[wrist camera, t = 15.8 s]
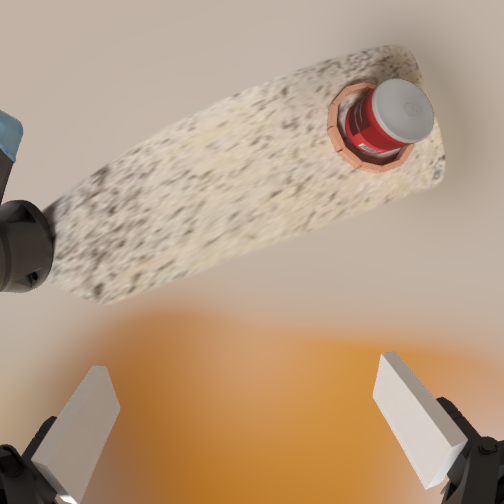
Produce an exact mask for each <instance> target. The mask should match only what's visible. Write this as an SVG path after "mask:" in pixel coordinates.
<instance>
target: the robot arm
mask: <svg viewBox="0 0 504 504" xmlns="http://www.w3.org/2000/svg"><path fill="white" fill-rule="evenodd" d="M22 136H23V127H22V124H21V122H20V121H19V120H18V119H16V118H14V117H12V116H10V115H8V114H7V113H5V112H3V111H1V110H0V292H18V293H24V292H28V291H30V290H33V289H35V288H37V287H38V286H40V285H41V284H42V283H43V282H44V281H45V279H46V278H47V276H48V274H49V271H50V268H51V264H52V257H53V245H52V238H51V233H50V229H49V226H48V224H47V221H46V219H45V217H44V216H43V214H42V213H41V211H40V210H39V209H38V208H37V207H36V206H35V205H34V204H32V203H31V202H28V201H24V200H15V201H9V202H6V203H4V204H3V205H1V202H2V198H3V195H4V191H5V187H6V184H7V181H8V178H9V175H10V172H11V169H12V166H13V163H15V161H16V157H15V156H16V153H17V150H18V147H19V144H20V141H21V138H22ZM373 398H374V400H375V402H376V403H377V405H378V407H379V408H380V410H381V412H382V414H383V415H384V417H385V419H386V420H387V422H388V424H389V426H390V427H391V429H392V431H393V433H394V434H395V436H396V438H397V440H398V441H399V443H400V445H401V447H402V448H403V450H404V452H405V454H406V455H407V457H408V459H409V461H410V462H411V464H412V466H413V468H414V470H415V472H416V473H417V475H418V477H419V479H420V481H421V482H422V484H423V486H424V488H425V489H428V488H430V487H433V486H435V485H437V484H439V483H441V482H442V481H443V479H444V478H445V476H446V475H447V476H448V477H449V479H450V480H449V482H448V483H447V484H446V486H445V487H444V488H443V490H442V491H441V494H443V493H444V492H445V494H444V497H443V500H442V503H441V504H504V440H503V441H499V442H498V441H497V440H495V439H494V438H491V437H488V436H487V437H481V436H480V435H479V434H478V433H477V431H476V430H475V429H474V428H473V427H472V426H471V424H470V423H469V422H468V421H467V419H466V418H465V417H464V416H462V414H461V412H460V411H458V409H457V408H456V407H455V406H454V404H453V403H452V402H451V401H449V400H447V399H446V398H444V397H441V398H437V399H435V398H434V397H433V395H432V394H431V393H430V392H429V391H428V389H427V388H426V387H425V386H424V385H423V383H422V382H421V381H420V380H419V379H418V377H417V376H416V375H415V374H414V373H413V371H412V370H411V369H410V368H409V367H408V366H407V364H406V363H405V362H404V361H403V360H402V359H401V357H400V356H399V355H398V354H397V353H396V352H395V351H392V352H387V353H382V354H381V358H380V363H379V369H378V373H377V378H376V383H375V387H374V392H373ZM119 411H120V405H119V403H118V400H117V397H116V394H115V392H114V389H113V386H112V383H111V380H110V377H109V374H108V370H107V367H105V366H92V368H91V369H90V370H89V372H88V373H87V375H86V376H85V378H84V379H83V381H82V382H81V384H80V385H79V386H78V388H77V389H76V391H75V392H74V394H73V395H72V397H71V398H70V400H69V401H68V402H67V404H66V405H65V407H64V408H63V410H62V411H61V413H60V415H59V416H58V417H54V416H51V417H50V418H49V419H47V420H46V421H45V422H44V423H43V424H42V426H41V427H40V429H39V431H38V432H37V433H36V435H35V438H33V439H32V441H31V442H30V444H29V445H28V447H27V448H26V450H25V452H24V453H23V455H22V456H20V455H19V453H18V452H17V450H16V449H15V448H14V447H13V446H11V445H8V444H5V445H0V504H58V502H57V501H56V499H55V497H56V495H57V494H58V495H59V496H60V497H61V498H62V499H63V500H64V501H66V502H69V503H72V504H80V503H81V500H82V498H83V495H84V493H85V490H86V488H87V485H88V483H89V480H90V478H91V475H92V473H93V470H94V468H95V465H96V463H97V461H98V459H99V456H100V454H101V451H102V449H103V447H104V445H105V442H106V440H107V438H108V436H109V433H110V431H111V428H112V426H113V424H114V422H115V420H116V418H117V415H118V413H119Z"/></svg>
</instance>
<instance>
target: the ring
mask: <svg viewBox="0 0 504 504" xmlns="http://www.w3.org/2000/svg"><path fill="white" fill-rule="evenodd" d="M376 86H378V85H375V84H372V83H369V82H366V83H365V82H363V83H359V84H355V85H351V86H347V87H346V88H344V89H343V90H342V92H341V93H340V94H339V95H338V96H337V98H336V99H335V100H334V101H333V103H332V104H331V105H330V106H329V108H328V120H327V129H328V130H327V132H328V134H329V136H330V139H331V141H332V143H333V146H334V148H335V150H336V152H337V151H339V152H338V154H339V155H340V156H341V157H342V158H344V159H345V160H346V161H347V162H348V163H349V164H351V165H352V166H353V167H354V168H356V169H359V170H364V171H368V172H373V173H381V172H385V171H388V170H391V169H393V168H396V167H398V166H401V165H402V164H403V163H404V162H405V160H406V159H407V157H408V156H409V154H410V153H411V151H412V150H413V148H412V147H414V143H413V144H410V145H407V146H404V147H402V149H401V150H400V152H399V153H398V155H397V156H396V157H395V159H394V160H393V162H390V163H387V164H385V165H382V166H379V165H375V164H371V163H366V162H362V161H361V160H360V159H359V158H358V157H357V156H356V155H354V154H353V153H352V152H351V151H350V150H349V149H347V148H346V147H345V144H344V142H343V140H342V137H341V135H340V133H339V131H338V128H337V114H338V105H339V104H340V103H341V102H342V100H343V99H344V98H345V97H346V96H347V95H351V94H355V93H358V92H366V93H369V92H371V91H372V90H373V89H374V88H375V87H376Z"/></svg>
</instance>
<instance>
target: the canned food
mask: <svg viewBox="0 0 504 504" xmlns="http://www.w3.org/2000/svg"><path fill="white" fill-rule="evenodd" d="M433 124H434V113H433V109H432V105H431V103H430V101H429V99H428V98H427V96H426V95H425V93H424V92H423V91H422V90H421V89H420V88H419V87H417V86H416V85H415V84H413V83H411V82H409V81H407V80H404V79H399V78H393V79H388V80H386V81H384V82H382V83H380V84H379V85H378V86H376V87H375V88H374V89H373V90H372V91H371V92H369V93H368V94H367V95H366V96H365V97H364V98H362V99H361V100H360V101H359V102H358V103H357V104H355V105H354V106H353V107H352V108H351V109H350V110H349V112H348V113H347V116H346V120H345V130H346V134H347V136H348V138H349V140H350V141H351V142H352V144H353V145H354V146H355V147H357V148H358V149H360V150H362V151H364V152H366V153H370V154H381V153H384V152H387V151H391V150H394V149H397V148H400V147H404V146H407V145H410V144H413V143H416V142H419V141H421V140H423V139H424V138H426V137H427V136H428V135H429V134H430V132H431V130H432V128H433Z"/></svg>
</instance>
